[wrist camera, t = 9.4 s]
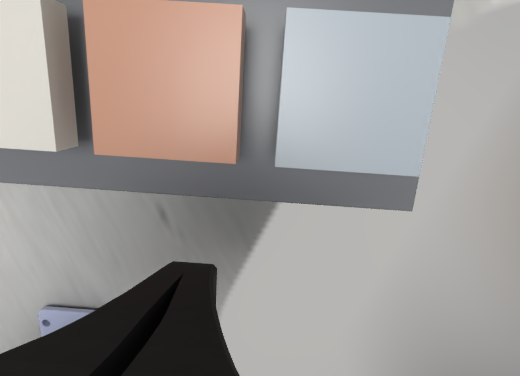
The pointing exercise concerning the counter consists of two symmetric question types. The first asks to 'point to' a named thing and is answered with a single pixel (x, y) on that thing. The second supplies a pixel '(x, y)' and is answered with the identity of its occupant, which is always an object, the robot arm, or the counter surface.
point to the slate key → (357, 90)
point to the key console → (252, 129)
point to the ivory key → (36, 77)
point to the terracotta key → (166, 78)
